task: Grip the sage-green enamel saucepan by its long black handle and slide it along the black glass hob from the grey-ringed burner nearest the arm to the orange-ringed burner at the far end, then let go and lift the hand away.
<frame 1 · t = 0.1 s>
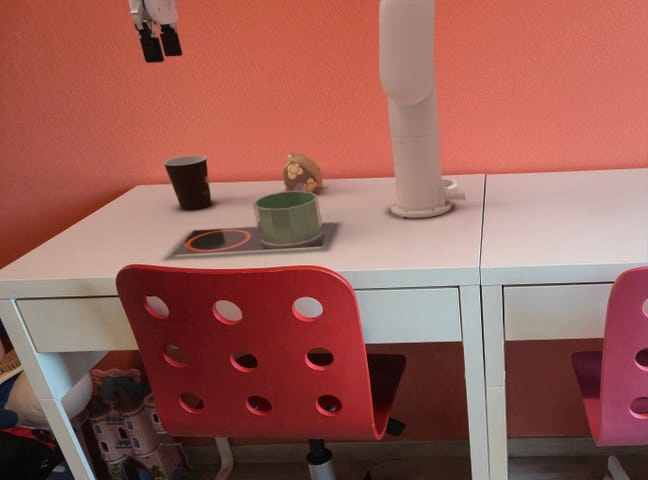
hand: (164, 59, 131), 31 cm above the table, tool pointing down, fingers open, 9 cm apart
hob: (255, 240, 134), on the table
coffee mug: (200, 204, 158), on the table
saucepan: (292, 235, 134), point 1 cm above the table, touching hob
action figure: (308, 191, 163), on the table
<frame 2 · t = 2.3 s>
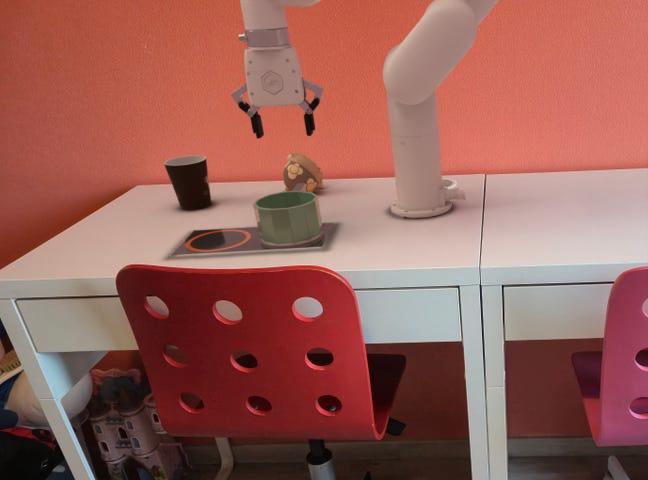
hand: (285, 135, 137), 17 cm above the table, tool pointing down, fingers open, 9 cm apart
nothing on the table moved.
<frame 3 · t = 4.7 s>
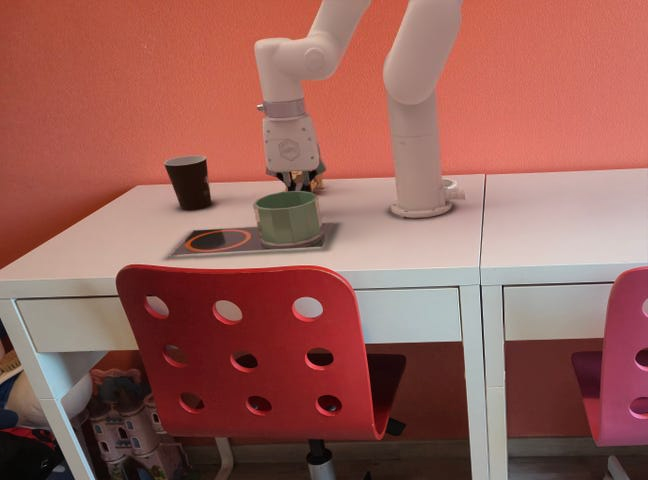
hand: (302, 202, 144), 3 cm above the table, tool pointing down, fingers closed on saucepan
saucepan: (292, 235, 134), point 1 cm above the table, touching gripper, hob
everything else where it was.
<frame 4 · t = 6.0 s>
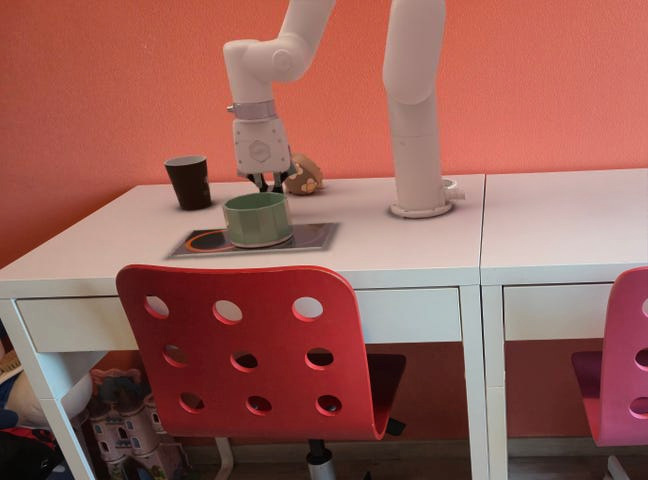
hand: (274, 204, 144), 3 cm above the table, tool pointing down, fingers closed on saucepan
saucepan: (262, 237, 134), point 1 cm above the table, touching gripper
everything else where it was.
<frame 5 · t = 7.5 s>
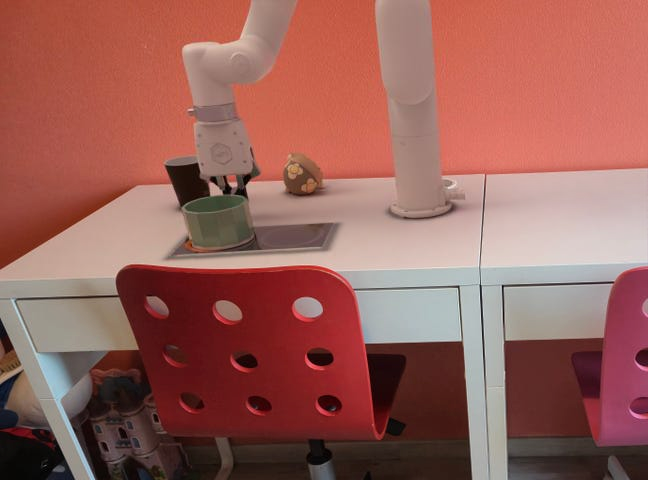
hand: (238, 206, 144), 3 cm above the table, tool pointing down, fingers closed on saucepan
saucepan: (223, 239, 134), point 1 cm above the table, touching gripper
everything else where it was.
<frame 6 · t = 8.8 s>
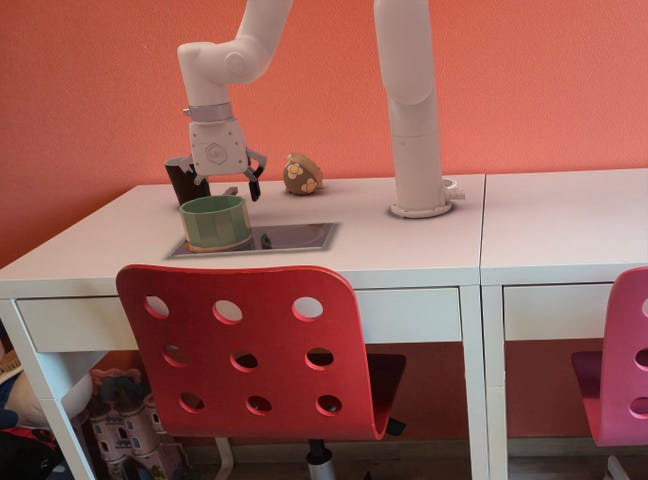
hand: (232, 201, 143), 4 cm above the table, tool pointing down, fingers open, 9 cm apart
saucepan: (220, 239, 134), point 1 cm above the table, touching hob
everything else where it was.
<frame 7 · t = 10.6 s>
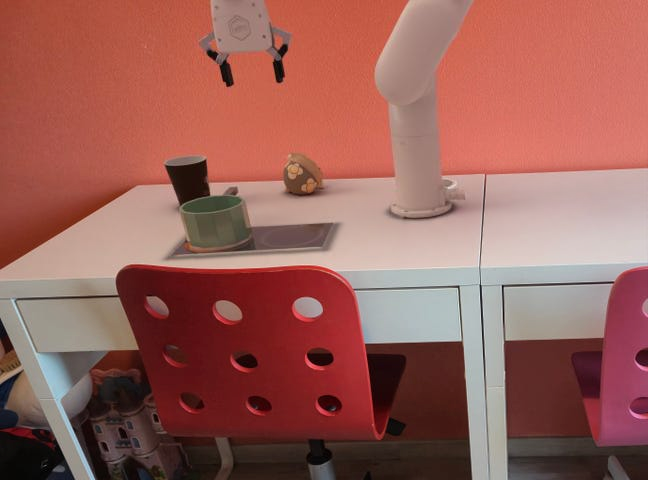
hand: (255, 84, 137), 26 cm above the table, tool pointing down, fingers open, 9 cm apart
nothing on the table moved.
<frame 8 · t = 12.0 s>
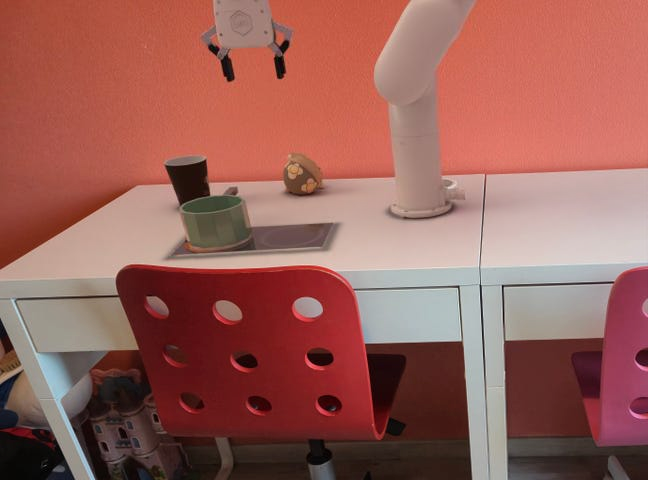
hand: (256, 79, 137), 26 cm above the table, tool pointing down, fingers open, 9 cm apart
nothing on the table moved.
at the end: saucepan 0.4 cm from the target spot, point 0.5 cm above the table; saucepan tilted 0°; the gripper is holding nothing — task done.
